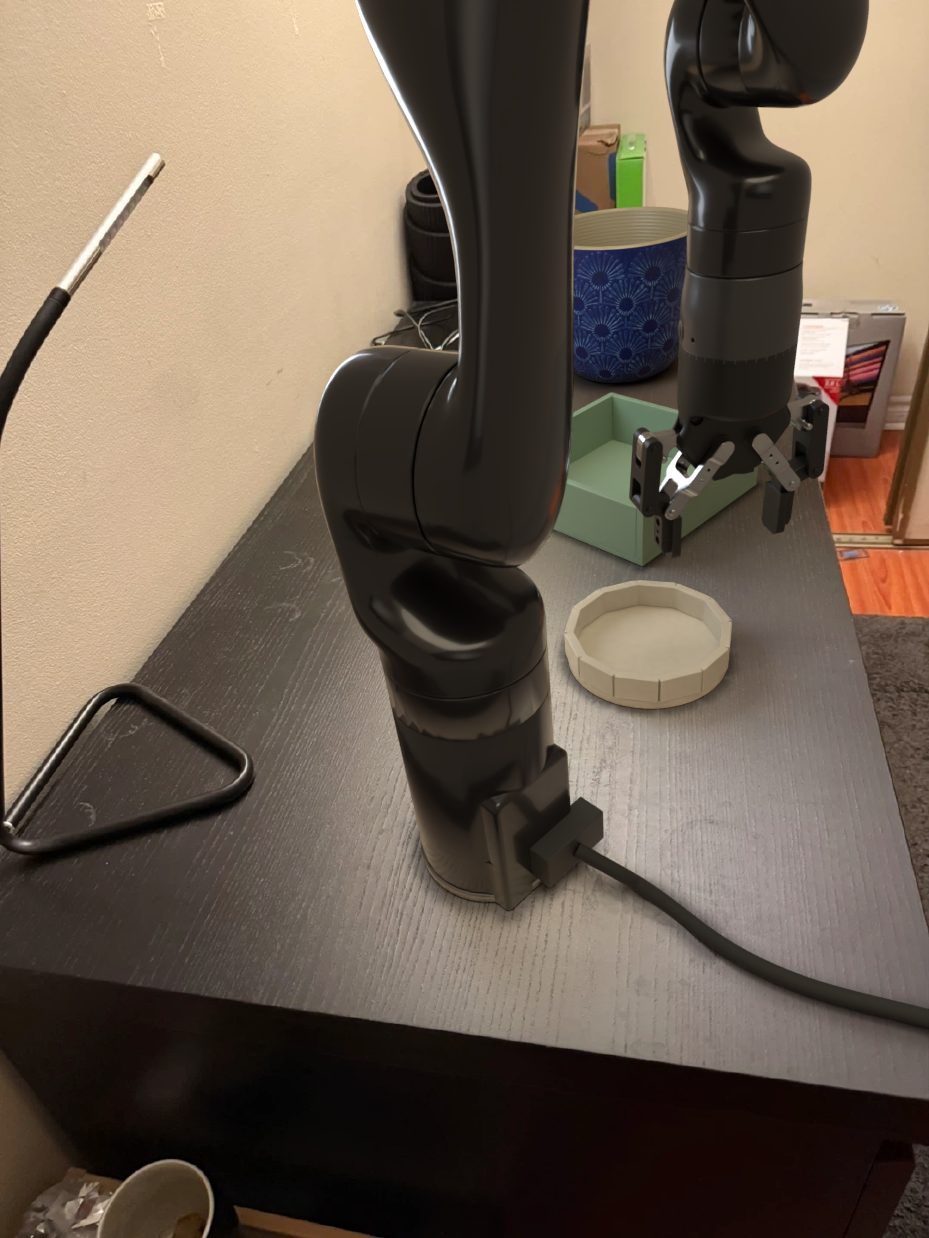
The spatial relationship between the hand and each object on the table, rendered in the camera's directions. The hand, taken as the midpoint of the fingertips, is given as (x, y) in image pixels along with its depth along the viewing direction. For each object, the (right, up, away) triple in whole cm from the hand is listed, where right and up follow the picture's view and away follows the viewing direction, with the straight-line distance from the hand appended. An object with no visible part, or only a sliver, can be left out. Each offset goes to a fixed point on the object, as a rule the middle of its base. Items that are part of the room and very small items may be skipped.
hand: (721, 540), depth 65 cm
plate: (-5, -9, +5) cm, 11 cm away
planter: (+2, +29, +54) cm, 62 cm away
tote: (-3, +7, +26) cm, 27 cm away
